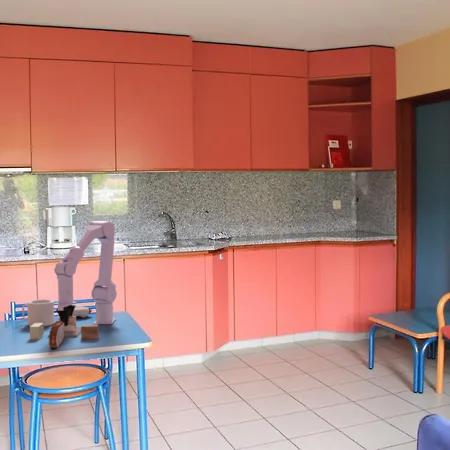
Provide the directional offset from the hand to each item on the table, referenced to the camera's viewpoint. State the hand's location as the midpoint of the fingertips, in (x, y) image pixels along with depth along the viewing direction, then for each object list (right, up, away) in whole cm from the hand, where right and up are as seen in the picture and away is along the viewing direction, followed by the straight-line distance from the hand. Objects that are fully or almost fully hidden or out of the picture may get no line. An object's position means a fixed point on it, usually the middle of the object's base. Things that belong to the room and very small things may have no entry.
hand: (66, 324), depth 232 cm
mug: (-17, -3, +16) cm, 23 cm away
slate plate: (0, -3, 0) cm, 3 cm away
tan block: (0, -2, 0) cm, 2 cm away
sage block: (-10, -4, -6) cm, 12 cm away
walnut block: (+11, -4, -7) cm, 14 cm away
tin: (+2, -5, -18) cm, 18 cm away
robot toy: (-4, -2, +32) cm, 32 cm away
